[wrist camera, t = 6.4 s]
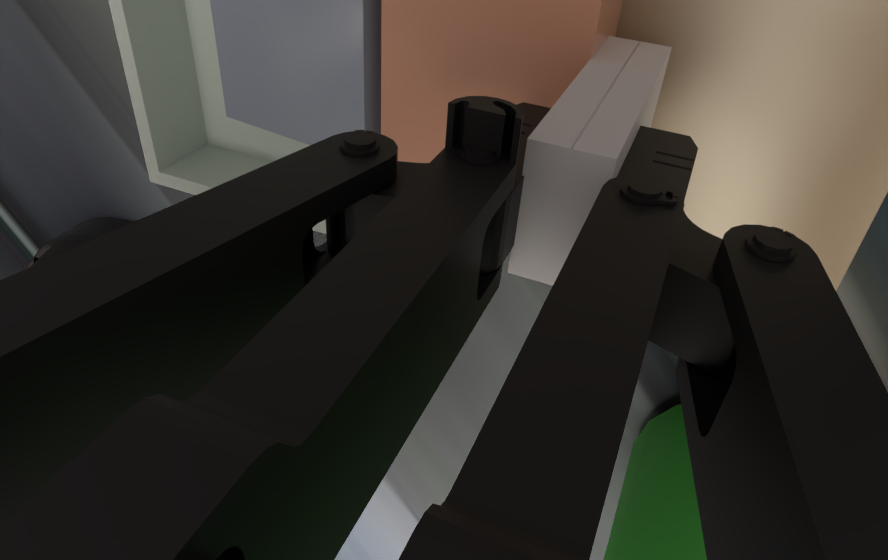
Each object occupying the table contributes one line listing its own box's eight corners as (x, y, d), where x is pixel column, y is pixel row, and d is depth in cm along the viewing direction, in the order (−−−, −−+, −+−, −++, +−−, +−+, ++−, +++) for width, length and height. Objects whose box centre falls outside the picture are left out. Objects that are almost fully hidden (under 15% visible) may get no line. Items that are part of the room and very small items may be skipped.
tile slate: (293, 87, 22) (226, 116, 20) (280, -85, 19) (199, -73, 17) (423, 127, 20) (364, 163, 18) (432, -57, 17) (362, -39, 15)
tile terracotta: (426, 123, 20) (380, 164, 18) (435, -59, 17) (381, -38, 15) (588, 162, 19) (561, 210, 17) (629, -30, 16) (602, -2, 14)
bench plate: (422, 162, 26) (374, 209, 23) (439, -227, 19) (371, -233, 16) (811, 260, 22) (814, 332, 19) (1022, -186, 15) (1081, -184, 12)
